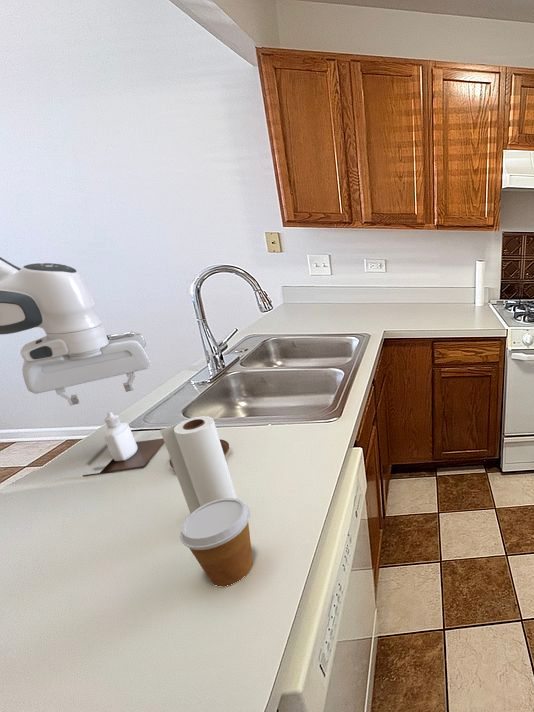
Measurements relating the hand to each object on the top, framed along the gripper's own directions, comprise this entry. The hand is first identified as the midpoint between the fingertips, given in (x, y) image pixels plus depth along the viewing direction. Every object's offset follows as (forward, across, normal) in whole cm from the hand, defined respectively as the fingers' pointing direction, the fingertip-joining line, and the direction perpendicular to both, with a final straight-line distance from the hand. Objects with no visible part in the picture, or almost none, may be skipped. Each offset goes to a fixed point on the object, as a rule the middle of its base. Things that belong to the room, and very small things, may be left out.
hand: (103, 396), depth 91 cm
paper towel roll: (+17, -11, +38) cm, 43 cm away
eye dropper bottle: (+16, 0, 0) cm, 16 cm away
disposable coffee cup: (+17, -9, +54) cm, 57 cm away
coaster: (+16, 0, 0) cm, 17 cm away
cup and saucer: (+17, -13, +14) cm, 25 cm away
